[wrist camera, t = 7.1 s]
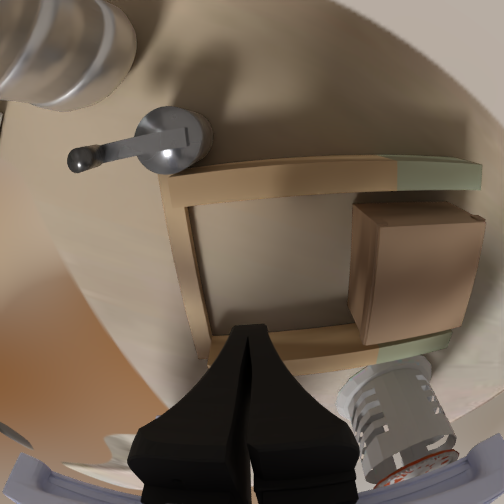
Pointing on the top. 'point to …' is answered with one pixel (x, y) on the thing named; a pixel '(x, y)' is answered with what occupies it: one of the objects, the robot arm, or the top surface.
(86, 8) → the silver metal bottle
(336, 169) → the bay
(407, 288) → the box
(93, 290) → the top surface
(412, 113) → the top surface
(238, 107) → the top surface
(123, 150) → the crank handle cylinder
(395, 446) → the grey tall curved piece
